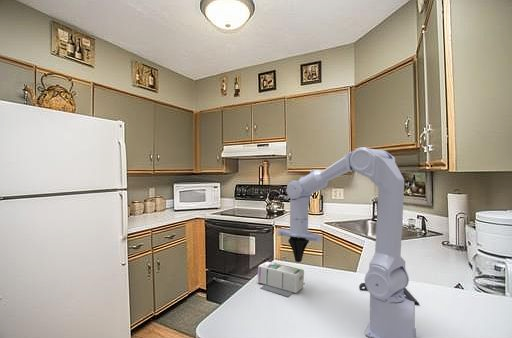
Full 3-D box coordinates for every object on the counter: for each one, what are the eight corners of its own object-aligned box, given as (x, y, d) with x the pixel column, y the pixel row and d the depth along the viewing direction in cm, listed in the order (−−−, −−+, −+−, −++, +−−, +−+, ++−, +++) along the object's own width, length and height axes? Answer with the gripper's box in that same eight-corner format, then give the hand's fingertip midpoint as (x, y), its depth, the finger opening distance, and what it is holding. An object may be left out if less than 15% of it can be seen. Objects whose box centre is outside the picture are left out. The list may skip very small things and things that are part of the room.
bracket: (355, 282, 91) (355, 274, 91) (401, 286, 88) (401, 278, 89) (364, 302, 77) (364, 293, 77) (419, 308, 74) (419, 298, 74)
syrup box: (297, 274, 80) (257, 264, 88) (296, 294, 80) (256, 282, 88) (304, 269, 85) (266, 260, 93) (303, 288, 84) (265, 277, 92)
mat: (304, 283, 88) (304, 282, 88) (288, 297, 78) (288, 296, 78) (278, 276, 94) (278, 275, 94) (260, 288, 84) (260, 287, 84)
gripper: (273, 217, 84) (272, 259, 84) (315, 222, 76) (315, 269, 75) (283, 214, 90) (283, 254, 89) (324, 219, 81) (324, 263, 81)
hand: (298, 261), depth 83 cm, fingers closed
